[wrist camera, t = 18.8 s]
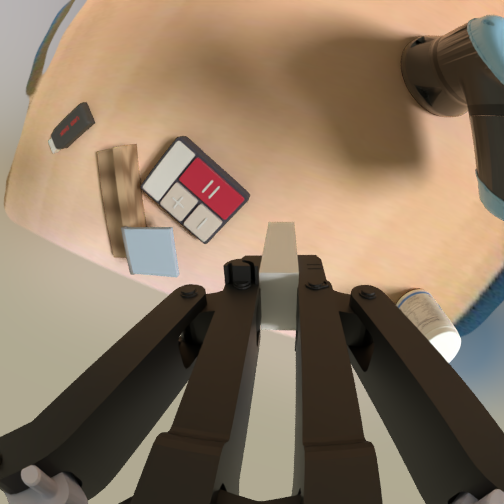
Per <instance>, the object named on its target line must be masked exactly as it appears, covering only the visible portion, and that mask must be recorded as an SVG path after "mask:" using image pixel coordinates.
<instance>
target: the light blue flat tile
mask: <svg viewBox="0 0 504 504" xmlns="http://www.w3.org/2000/svg"><path fill="white" fill-rule="evenodd" d="M121 232H122V237H123V242H124V247H125V252H126V257H127V261H128V266H129V270H130V274H131V275H134V274H145V275H156V276H168V277H178V276H179V268H178V262H177V256H176V249H175V242H174V235H173V228H172V227H128V226H123V227H121Z"/></svg>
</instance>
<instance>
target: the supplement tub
mask: <svg viewBox="0 0 504 504" xmlns="http://www.w3.org/2000/svg"><path fill="white" fill-rule="evenodd" d="M396 306H397V307H398V308H399V309H400V310H401V311H402V312H403V313H404V314H405V315H406V316H407V317H408V319H409V320H410V321H411V322H412V323H413V324H414V325H415V326H416V327H417V328H418V329H419V330H420V332H421V333H422V334H423V335H424V336H425V337H426V338H427V339H428V340H429V341H430V343H431V344H432V345H433V346H434V347H435V348H436V349H437V350H438V352H439V353H440V354H441V355H442V356H443V357H444V358H445V360H446V361H447V362H448V363H449V362H450V361H451V360H452V359H453V358H454V357H455V355H456V354H457V352H458V351H459V348H460V344H461V338H460V336H459V334H458V332H457V330H456V328H455V327H454V326H453V324H452V323H451V321H450V320H449V318H448V317H447V316H446V314H445V313H444V312H443V310H442V309H441V307H440V306H439V305H438V303H437V302H436V301H435V299H434V298H433V297H432V295H431V294H430V293H429V292H427V291H425V290H422V289H417V290H412V291H410V292H408V293H406V294H405V295H404V296H402V297H401V298H400V300H399V301H398V302H397V304H396Z"/></svg>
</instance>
